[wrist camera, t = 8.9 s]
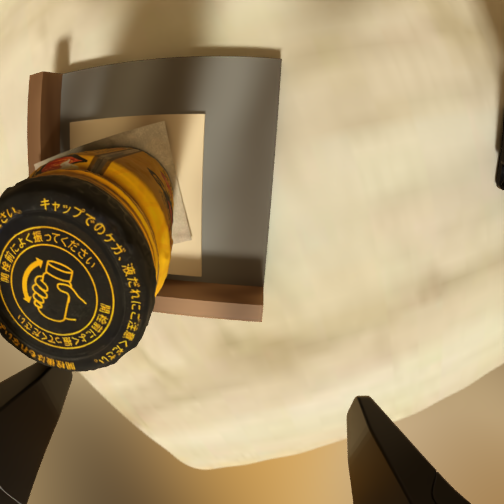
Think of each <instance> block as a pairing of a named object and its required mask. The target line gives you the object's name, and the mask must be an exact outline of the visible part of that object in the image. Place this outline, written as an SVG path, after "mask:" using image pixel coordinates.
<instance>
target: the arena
mask: <svg viewBox="0 0 504 504" xmlns="http://www.w3.org/2000/svg"><path fill="white" fill-rule="evenodd" d="M281 61H282V59H275V58H261V57H239V56H196V57H175V58H161V59H150V60H140V61H132V62H124V63H117V64H111V65H105V66H99V67H93V68H88V69H83V70H78V71H74V72H69V73H65V74H58V73H51V72H40V73H36V74H33V75H30V80H29V93H28V118H27V140H28V166H29V176H30V175H31V173H32V172H33V171H35V166H34V164H36V163H39V162H41V161H43V160H46V159H48V158H51V157H53V156H56V155H58V154H61V153H64V152H66V151H68V150H71V149H74V148H77V147H80V146H82V145H85V144H88V143H91V142H94V141H97V140H100V139H103V138H106V137H109V136H112V135H116V134H119V133H122V132H125V131H129V130H132V129H136V128H139V127H143V126H147V125H150V124H154V123H158V122H162V121H165V125H166V130H167V135H168V140H169V145H170V149H171V154H172V158H173V163H174V167H175V172H176V176H177V181H178V185H179V189H180V193H181V198H182V202H183V206H184V210H185V215H186V219H187V223H188V227H189V231H190V235H191V238H192V240H190V241H185V242H180V243H176V244H173V246H172V251H171V259H170V264H169V270H168V274H167V277H166V279H165V281H164V283H163V286H162V288H161V289H160V291H159V292H158V294H157V295H156V297H155V305H154V309H153V312H161V313H169V314H178V315H187V316H197V317H207V318H218V319H229V320H242V321H256V322H262V313H263V286H264V275H265V264H266V253H267V242H268V230H269V219H270V207H271V195H272V183H273V170H274V158H275V145H276V132H277V118H278V105H279V91H280V76H281Z"/></svg>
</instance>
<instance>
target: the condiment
mask: <svg viewBox="0 0 504 504" xmlns="http://www.w3.org/2000/svg"><path fill="white" fill-rule="evenodd" d="M34 166H35V171H33V172H32V173H31V175H30V176H29V177H28V178H27V179H25V180H23V181H21V182H19V183H17V184H16V185H15V186H13V187H9V188H7V189H6V190H5V191H4V192H3V194H2V195H1V197H0V333H1V335H2V336H3V337H4V338H5V339H6V340H7V341H8V342H9V343H10V344H12V345H13V346H14V347H15V348H17V349H18V350H19V351H21V352H22V353H24V354H25V355H26V356H28V357H29V358H31V359H33V360H35V361H37V362H39V363H42V364H44V365H46V366H50V367H54V368H57V369H61V370H65V371H69V372H72V371H88V370H96V369H98V368H102V367H107V366H109V365H111V364H115V363H116V362H117V361H118V360H119V359H120V358H121V357H122V356H123V355H124V354H125V353H127V352H128V351H130V350H131V349H133V348H135V347H136V346H137V344H138V343H139V341H140V340H141V338H142V336H143V334H144V331H145V329H146V326H147V325H148V322H149V319H150V316H151V313H152V311H153V309H154V305H155V297H156V295H157V294H158V292H159V291H160V289H161V288H162V286H163V283H164V281H165V279H166V277H167V274H168V270H169V264H170V259H171V251H172V246H173V244H176V243H180V242H185V241H190V240H192V238H191V235H190V231H189V227H188V223H187V219H186V215H185V210H184V206H183V202H182V198H181V193H180V189H179V185H178V181H177V176H176V172H175V167H174V163H173V158H172V154H171V149H170V145H169V140H168V135H167V130H166V125H165V121H162V122H158V123H154V124H150V125H147V126H143V127H139V128H136V129H132V130H129V131H125V132H122V133H119V134H116V135H112V136H109V137H106V138H103V139H100V140H97V141H94V142H91V143H88V144H85V145H82V146H80V147H77V148H74V149H71V150H68V151H66V152H64V153H61V154H58V155H56V156H53V157H51V158H48V159H46V160H43V161H41V162H39V163H36V164H34Z"/></svg>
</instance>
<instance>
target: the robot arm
mask: <svg viewBox="0 0 504 504" xmlns="http://www.w3.org/2000/svg"><path fill="white" fill-rule="evenodd" d="M501 183H502V185H501ZM496 184H497V187H498V188H499V189H502V190H504V122H503V135H502V145H501V153H500V161H499V168H498V174H497V180H496ZM71 381H72V372H69V371H65V370H61V369H57V368H54V367H50V366H46V365H44V364H42V363H39V362H36V363H35V364H33V365H31V366H29V367H27V368H26V369H24V370H22V371H20V372H18V373H17V374H15V375H13V376H11V377H9V378H8V379H6V380H4V381H2V382H0V504H27V502H28V499H29V496H30V492H31V490H32V486H33V484H34V481H35V478H36V475H37V472H38V470H39V467H40V464H41V462H42V459H43V456H44V453H45V451H46V449H47V446H48V444H49V441H50V439H51V436H52V434H53V432H54V429H55V427H56V424H57V422H58V419H59V417H60V414H61V412H62V408H63V405H64V402H65V399H66V396H67V393H68V390H69V387H70V384H71ZM347 442H348V443H347V445H348V465H349V473H350V480H351V488H352V495H353V504H471V503H470V502H468V501H467V500H466V499H465V498H464V497H463V496H461V495H460V494H459V493H458V492H457V491H456V490H455V489H454V488H453V487H452V486H451V485H450V484H449V483H448V482H447V481H446V480H445V479H444V478H443V477H442V476H441V475H440V474H439V472H436V469H435V468H434V467H433V466H432V465H431V464H430V463H429V462H428V460H426V458H425V457H424V456H423V455H422V454H421V453H420V452H419V451H418V449H417V448H416V447H415V446H414V445H413V444H412V443H411V442H410V441H409V440H408V438H407V437H406V436H405V435H404V434H403V433H402V432H401V431H400V429H399V428H398V427H397V426H396V425H395V424H394V423H393V422H392V421H391V419H390V418H389V417H388V416H387V415H386V414H385V413H384V412H383V410H382V409H381V408H380V407H379V406H378V405H377V404H376V403H375V402H374V400H373V399H372V398H371V397H369V396H357V397H355V399H354V401H353V403H352V405H351V407H350V409H349V411H348V413H347Z"/></svg>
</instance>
